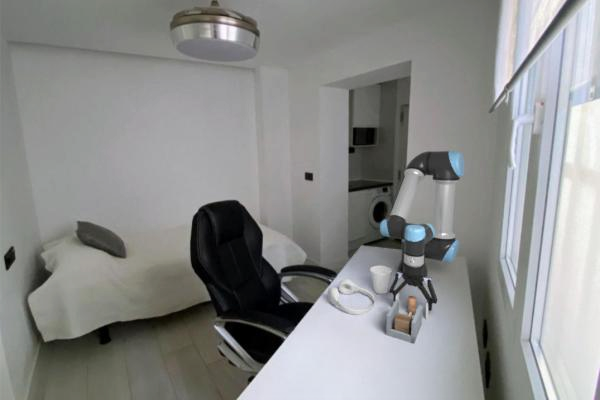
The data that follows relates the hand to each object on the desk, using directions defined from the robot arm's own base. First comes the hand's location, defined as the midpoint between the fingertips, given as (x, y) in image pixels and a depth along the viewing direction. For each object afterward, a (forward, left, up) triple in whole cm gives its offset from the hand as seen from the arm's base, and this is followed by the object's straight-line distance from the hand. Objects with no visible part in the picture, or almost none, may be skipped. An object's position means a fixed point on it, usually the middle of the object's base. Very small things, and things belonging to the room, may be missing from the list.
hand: (411, 312), depth 124 cm
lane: (+12, 0, 0) cm, 13 cm away
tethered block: (+8, 0, 0) cm, 8 cm away
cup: (-12, -17, 0) cm, 21 cm away
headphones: (+4, -25, -1) cm, 25 cm away
